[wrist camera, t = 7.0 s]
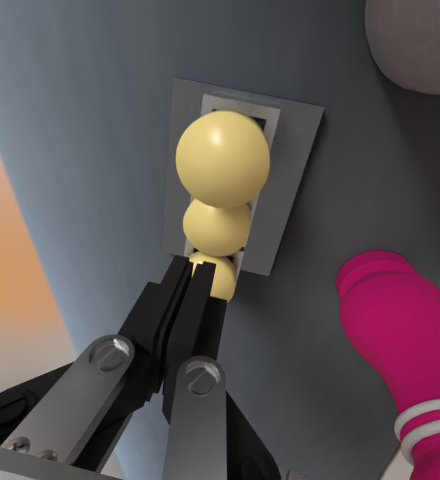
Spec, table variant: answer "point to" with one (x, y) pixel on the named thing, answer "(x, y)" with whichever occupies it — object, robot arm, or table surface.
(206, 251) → the knob
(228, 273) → the knob
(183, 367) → the robot arm
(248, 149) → the knob
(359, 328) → the pepper mill
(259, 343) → the table surface
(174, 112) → the mount plate
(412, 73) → the pillar candle
